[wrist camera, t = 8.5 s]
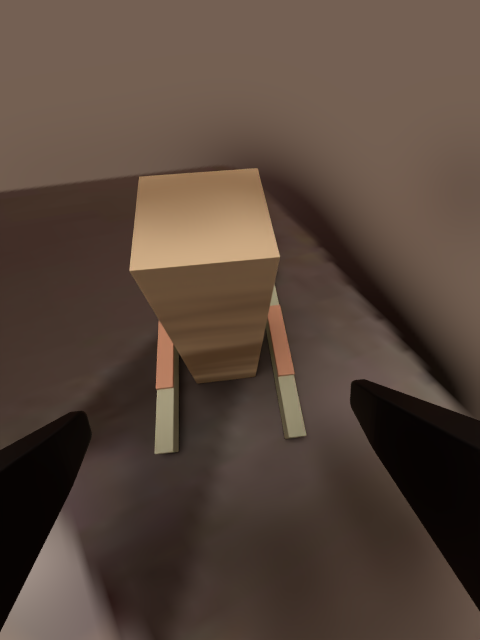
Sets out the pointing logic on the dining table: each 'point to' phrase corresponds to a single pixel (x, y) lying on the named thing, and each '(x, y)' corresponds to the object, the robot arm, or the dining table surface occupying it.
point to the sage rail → (170, 383)
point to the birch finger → (207, 266)
